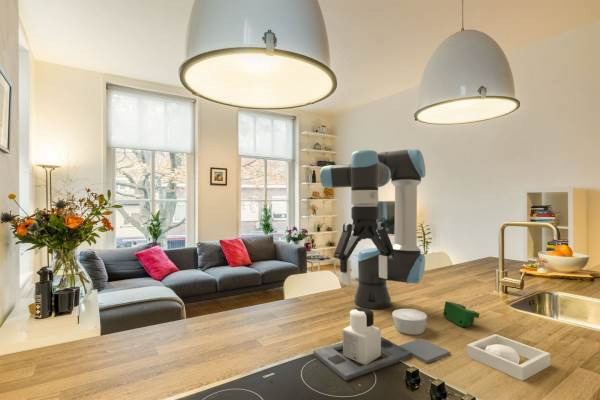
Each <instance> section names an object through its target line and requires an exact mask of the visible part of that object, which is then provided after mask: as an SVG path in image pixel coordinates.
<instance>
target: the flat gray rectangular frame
mask: <svg viewBox="0 0 600 400" xmlns="http://www.w3.org/2000/svg"><path fill="white" fill-rule="evenodd" d="M341 350H343V341H342V342H339V343H335V344H332V345H327V346H325V347H320V348H318V349H314V350H313V351H312V352H313V353H312V354H313V356H314V357H315V358H317V359H318V360H319V361H320V362H321V363H323V364H324V365H326V367H328V368H329V369H330V370H332V371H333V372H334V373H336V374H337V375H338V376H339V377H340V378H342V379H343V380H345V382H346V381H350V380H352V379H355V378H358V377H360V376H364V375H365V374H369V373H371V372H374V371H377V370H379V369H383V368H385V367H388V366H391V365H393V364H397V363H399V362H402V361H404V360H407V359H410V358H412V357H413V356H412V353H411V352H410V351H408V350H406V349H404V348H402V347H400V346H399V344H396V343H394V342H392V341H390V340H388V339H386V338H384V337H382V336H381V354H384V355H385V356H386V357H385V358H382V359H378V360H376V361H375V360H374V361H372V362H370V363H369V364H367V365H364V364H363V365H361V366H359V365H357V364H356V363H354V362H353V361H351V359H350V358H347V357H345V356H344V355H343V354H341V353H340V352H339V351H341Z"/></svg>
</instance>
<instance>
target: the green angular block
mask: <svg viewBox="0 0 600 400" xmlns="http://www.w3.org/2000/svg"><path fill="white" fill-rule="evenodd" d="M442 315H443V317H444V318H445V319H447V320H449V321H450V322H452V323H454V324H456V325H458V326H459V327H462V328H468V327H469V325H473V324H474V322H475V321H474V320H475V318H477V319H480V313H479V312H477V311H475V310H472V309H471V310H470V309H467V308H466V306H465V305H462V304H460V303H456V302H452V301H445V302H444V308H443V312H442Z"/></svg>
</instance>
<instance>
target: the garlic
mask: <svg viewBox="0 0 600 400" xmlns="http://www.w3.org/2000/svg"><path fill="white" fill-rule="evenodd" d="M485 351H488V352H490V353H492V354H495V355H497V356H500V357H502V358H505V359H507V360H510V361H512V362H514V363H517V364H519V363H520V360H521V356H520V355H519V354H518V353H517V351H516V350H515V349H513V348H511V347H509V346H505V345H501V344H494V345H490V346H488V345H487V347H486V349H485ZM519 365H520V364H519Z"/></svg>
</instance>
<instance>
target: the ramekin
mask: <svg viewBox="0 0 600 400" xmlns="http://www.w3.org/2000/svg"><path fill="white" fill-rule="evenodd" d="M391 317H392V320H393V323H394V328H395V329H396V330H397V331H398V332H399V333H401V334H406V335H409V336H410V335H412V336H414V335H415V336H416V335H417V336H418V335H421V334H423V333H424V332H425V331H426V325H427V320H428V315H427V314H426V312H424V311H420V310H417V309H414V308H398V309H395V310H393V311H392V315H391Z"/></svg>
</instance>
